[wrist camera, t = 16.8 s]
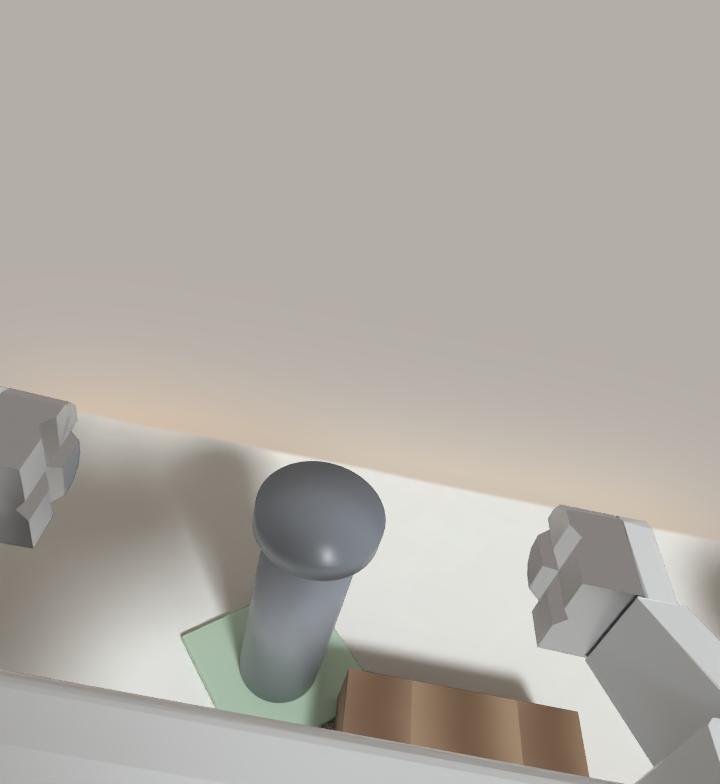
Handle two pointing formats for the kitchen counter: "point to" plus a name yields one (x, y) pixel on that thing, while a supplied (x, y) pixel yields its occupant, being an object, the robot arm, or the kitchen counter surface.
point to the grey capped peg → (304, 571)
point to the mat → (228, 692)
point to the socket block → (460, 722)
